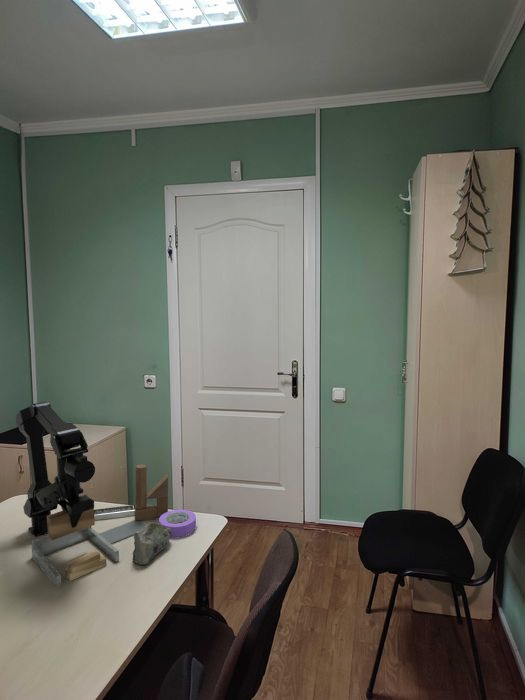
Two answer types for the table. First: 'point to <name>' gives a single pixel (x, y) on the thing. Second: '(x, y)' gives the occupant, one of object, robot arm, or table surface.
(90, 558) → the offcut stack
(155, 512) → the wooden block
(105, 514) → the multiport hub
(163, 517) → the masking tape
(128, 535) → the rubber mat
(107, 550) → the frame
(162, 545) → the mineral rock
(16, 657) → the table surface
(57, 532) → the walnut panel
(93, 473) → the robot arm
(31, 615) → the table surface
